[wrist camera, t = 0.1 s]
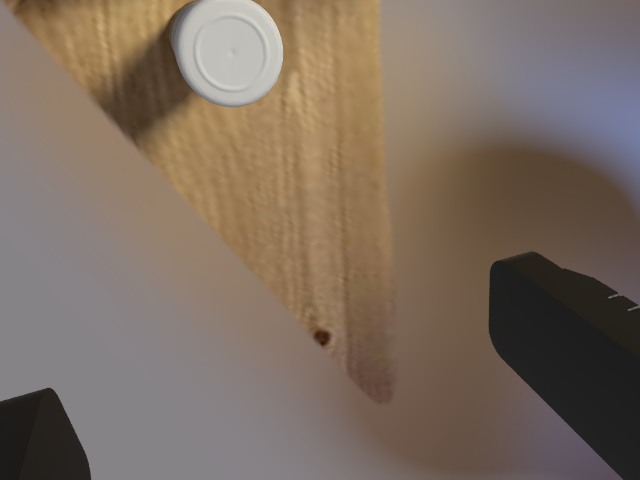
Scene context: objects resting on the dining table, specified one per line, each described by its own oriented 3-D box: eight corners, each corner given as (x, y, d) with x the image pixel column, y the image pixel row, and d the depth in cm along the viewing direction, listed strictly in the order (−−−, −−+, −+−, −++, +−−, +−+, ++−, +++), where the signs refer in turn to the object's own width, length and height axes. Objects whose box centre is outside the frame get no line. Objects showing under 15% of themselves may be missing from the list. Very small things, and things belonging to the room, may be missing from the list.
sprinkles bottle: (252, 29, 34) (305, 40, 22) (215, 88, 35) (248, 129, 23) (190, -18, 32) (214, -33, 20) (153, 46, 32) (154, 68, 21)
